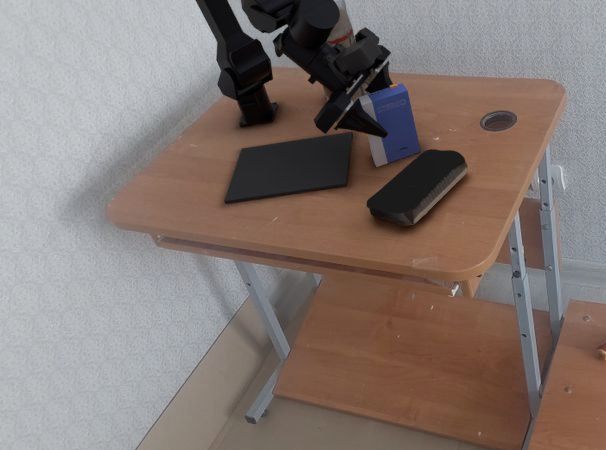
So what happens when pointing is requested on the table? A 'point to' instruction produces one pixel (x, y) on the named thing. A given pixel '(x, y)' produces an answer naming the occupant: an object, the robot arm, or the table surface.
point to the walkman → (391, 124)
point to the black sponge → (418, 187)
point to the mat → (291, 168)
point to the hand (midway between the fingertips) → (396, 122)
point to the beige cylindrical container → (344, 43)
